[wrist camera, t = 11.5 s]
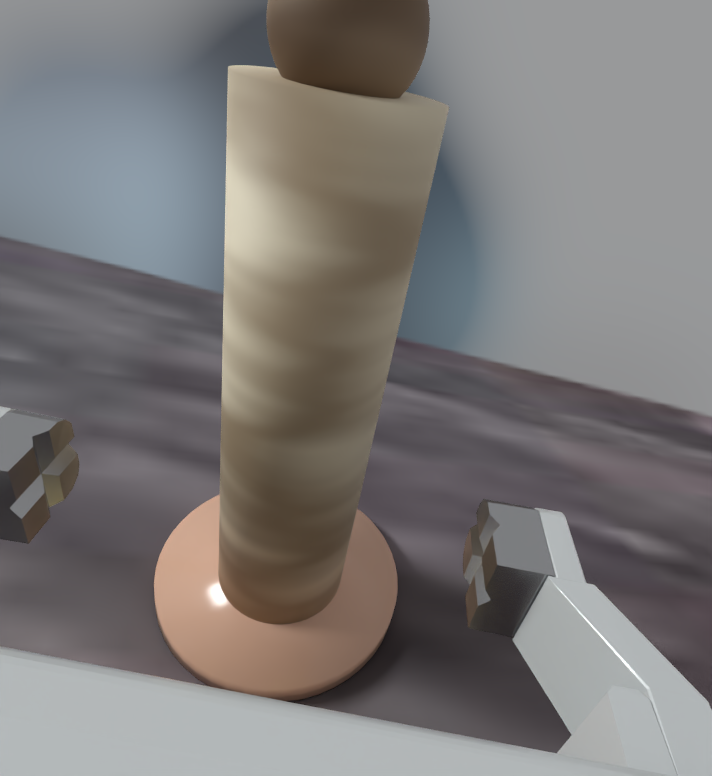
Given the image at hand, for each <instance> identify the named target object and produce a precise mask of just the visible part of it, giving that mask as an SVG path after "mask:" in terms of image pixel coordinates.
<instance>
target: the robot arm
mask: <svg viewBox="0 0 712 776" xmlns="http://www.w3.org/2000/svg"><path fill="white" fill-rule="evenodd" d="M73 438H74V433H73V429H72V424H71V423H70V422H68V421H66V420H65V419H60V418H55V417H51V416H46V415H41V414H37V413H32V412H27V411H22V410H18V409H10V408H6V407H1V406H0V539H2V540H8V541H14V542H20V543H26V544H29V543H30V541H31V540H32V539H33V538H34V536H35V535H36V534H37V533H38V532H39V530H40V529H41V528H42V527H43V525H44V524H45V523H46V522H47V520H48V519H49V518H50V510H49V507H50V506H52V505H55V504H57V503H59V502H61V501H63V500H64V499H65V498H66V497H67V495H68V494H69V493H70V492H71V490H72V489H73V486H74V484H75V481H76V479H77V477H78V471H79V459H78V454H77V453H76V452H75V451H74V449H73V448H72V447H71V446H70V445H69V444H68V443H69V442H70V441H71V440H72V439H73ZM476 514H477V523H478V524H477V525H475V526H474V527H472V528H470V530H469V533H468V536H467V539H466V542H465V548H464V553H463V573H464V577H465V579H466V580H467V581H468V582H469V584H470V586H469V589H468V591H467V593H466V596H465V599H466V610H467V622H468V628H471V629H475V630H480V631H484V632H489V633H493V634H498V635H503V636H507V637H512V638H513V642H514V643H515V645H516V647H517V648H518V650H519V651H520V653H521V655H522V656H523V658H524V659H525V661H526V663H527V664H528V666H529V667H530V669H531V671H532V672H533V674H534V675H535V677H536V678H537V680H538V682H539V683H540V685H541V686H542V688H543V690H544V691H545V693H546V694H547V696H548V698H549V699H550V701H551V702H552V704H553V706H554V707H555V709H556V710H557V712H558V714H559V715H560V717H561V718H562V720H563V722H564V723H565V725H566V726H567V728H568V730H569V731H570V733H571V734H572V735H571V737H570V738H569V739H568V740H567V742H566V743H565V744H564V745H563V746H562V748H561V749H560V750H559V751H558V753H557V754H556V753H551V752H546V751H541V750H535V749H530V748H525V747H520V746H515V745H509V744H504V743H499V742H494V741H489V740H484V739H478V738H473V737H468V736H463V735H458V734H452V733H447V732H442V731H437V730H432V729H426V728H421V727H416V726H411V725H406V724H400V723H395V722H390V721H385V720H380V719H374V718H369V717H364V716H359V715H354V714H349V713H343V712H338V711H333V710H328V709H323V708H317V707H312V706H307V705H302V704H297V703H291V702H286V701H281V700H276V699H271V698H266V697H260V696H255V695H250V694H245V693H240V692H235V691H229V690H224V689H219V688H214V687H209V686H204V685H198V684H193V683H188V682H183V681H178V680H173V679H168V678H162V677H157V676H152V675H147V674H142V673H137V672H131V671H126V670H121V669H116V668H111V667H105V666H100V665H95V664H90V663H85V662H80V661H74V660H69V659H64V658H59V657H54V656H48V655H43V654H38V653H33V652H28V651H23V650H17V649H12V648H7V647H2V646H0V776H712V710H711V708H710V705H709V703H708V701H707V700H706V699H705V698H704V697H703V696H702V695H701V694H700V693H699V692H698V691H697V690H696V689H695V688H694V687H693V686H692V685H691V684H690V683H689V682H688V681H687V680H686V679H685V678H684V677H683V675H682V674H681V673H680V672H679V671H678V670H677V669H676V668H675V667H674V666H673V665H672V664H671V663H670V662H669V661H668V660H667V659H666V658H665V657H664V656H663V655H662V654H661V653H660V652H659V651H658V650H657V649H656V648H655V647H654V646H653V645H652V644H651V643H650V642H649V640H648V639H647V638H646V637H645V636H644V635H643V634H642V633H641V632H640V631H639V630H638V629H637V628H636V627H635V626H634V625H633V624H632V623H631V622H630V621H629V620H628V619H627V618H626V617H625V616H624V615H623V614H622V613H621V612H620V611H619V610H618V609H617V608H616V607H615V606H614V604H613V603H612V602H611V601H610V600H609V599H608V598H607V597H606V596H605V595H604V594H603V593H602V592H601V591H600V590H599V589H598V588H597V587H596V586H595V585H592V584H588V583H586V580H585V577H584V574H583V571H582V568H581V564H580V561H579V558H578V555H577V552H576V549H575V546H574V542H573V539H572V536H571V533H570V530H569V527H568V524H567V521H566V517H565V516H564V515H563V514H562V512H557V511H551V510H545V509H540V508H532V507H526V506H521V505H515V504H510V503H504V502H499V501H493V500H488V499H483V501H482V502H481V503H480V505H479V508H478V510H477V512H476Z"/></svg>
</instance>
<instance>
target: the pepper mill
mask: <svg viewBox="0 0 712 776" xmlns="http://www.w3.org/2000/svg"><path fill="white" fill-rule="evenodd" d="M267 6H268V7H267V33H268V40H269V45H270V49H271V53H272V56H273V59H274V62H275V65H276V67H277V68H270V67H259V66H247V65H234V66H229V67H228V102H227V152H226V204H225V205H226V206H225V256H224V259H225V260H224V306H223V358H222V410H221V461H220V513H219V564H218V577H219V583H220V586H221V589H222V591H223V593H224V595H225V597H226V598H227V600H228V601H229V603H230V604H231V605H232V606H233V607H234V608H235V609H237V610H238V611H239V612H240V613H242V614H244V615H245V616H247V617H249V618H251V619H253V620H256V621H259V622H263V623H268V624H280V625H283V624H292V623H296V622H300V621H303V620H306V619H308V618H310V617H312V616H314V615H316V614H317V613H319V612H320V611H322V610H323V609H324V608H325V607H326V606H327V605H328V604H329V603H330V602H331V601H332V599H333V598H334V596H335V594H336V593H337V590H338V588H339V585H340V581H341V577H342V572H343V568H344V563H345V559H346V555H347V550H348V546H349V542H350V537H351V533H352V529H353V524H354V520H355V516H356V511H357V507H358V502H359V498H360V494H361V489H362V485H363V481H364V476H365V472H366V468H367V463H368V459H369V455H370V450H371V446H372V441H373V437H374V433H375V428H376V424H377V420H378V415H379V411H380V407H381V402H382V398H383V394H384V389H385V385H386V380H387V376H388V372H389V367H390V363H391V359H392V354H393V350H394V346H395V341H396V337H397V332H398V328H399V324H400V319H401V315H402V310H403V306H404V302H405V297H406V293H407V289H408V285H409V280H410V276H411V272H412V267H413V263H414V258H415V254H416V250H417V245H418V241H419V236H420V232H421V227H422V224H423V219H424V215H425V211H426V206H427V202H428V197H429V193H430V189H431V184H432V180H433V176H434V171H435V167H436V162H437V158H438V154H439V149H440V145H441V141H442V136H443V132H444V128H445V123H446V119H447V115H448V110H449V106H447V105H446V104H444V103H441V102H439V101H436V100H433V99H430V98H426V97H423V96H420V95H415V94H412V93H408V92H405V91H406V90H407V89H408V88H409V86H410V85H411V83H412V82H413V80H414V79H415V77H416V75H417V73H418V71H419V69H420V66H421V64H422V61H423V59H424V55H425V52H426V48H427V43H428V36H429V21H430V18H429V5H428V0H268V5H267Z"/></svg>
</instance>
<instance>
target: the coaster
mask: <svg viewBox="0 0 712 776" xmlns="http://www.w3.org/2000/svg"><path fill="white" fill-rule="evenodd" d="M219 513H220V495H218V496H216V497H214V498H212V499H210V500H208V501H207V502H205V503H203V504H202V505H200V506H199V507H198V508H196V509H195V510H193V511H192V512H191V513H190V514H189V515H188V516H187V517H185V518H184V519H183V520H182V521H181V522H180V524H179V525H178V526H177V527H176V528H175V530H174V531H173V532H172V534H171V535H170V537H169V538H168V540H167V541H166V543H165V545H164V547H163V549H162V552H161V554H160V556H159V560H158V563H157V567H156V571H155V580H154V594H155V607H156V614H157V619H158V624H159V627H160V630H161V633H162V635H163V638H164V640H165V642H166V644H167V645H168V647H169V649H170V651H171V652H172V654H173V655H174V656H175V658H176V659H177V660H178V661H179V662H180V664H181V665H182V666H183V667H184V668H185V669H186V670H188V671H189V672H190V673H191V674H192V675H193V676H194V677H196V678H197V679H199V680H200V681H202V682H203V683H205V684H206V685H208V686H210V687H214V688H219V689H224V690H229V691H235V692H240V693H245V694H250V695H255V696H260V697H266V698H271V699H276V700H281V701H293V700H301V699H304V698H308V697H311V696H315V695H318V694H321V693H323V692H325V691H328V690H330V689H332V688H334V687H336V686H338V685H339V684H341V683H343V682H344V681H346V680H347V679H349V678H350V677H352V676H353V675H354V674H355V673H356V672H358V671H359V670H360V669H361V668H362V667H363V666H364V665H365V664H366V663H367V662H368V661H369V660H370V659H371V657H372V656H373V655H374V654H375V652H376V651H377V649H378V648H379V646H380V645H381V643H382V641H383V639H384V637H385V634H386V632H387V630H388V627H389V624H390V621H391V618H392V615H393V611H394V608H395V605H396V598H397V591H398V584H397V572H396V566H395V562H394V559H393V556H392V552H391V550H390V548H389V546H388V544H387V542H386V540H385V538H384V537H383V535H382V534H381V532H380V531H379V529H378V528H377V527H376V526H375V525H374V523H373V522H372V521H371V520H370V519H369V518H368V517H367V516H366V515H365V514H364V513H362V512H361V511H360V510H359V509H357V511H356V516H355V520H354V524H353V529H352V533H351V537H350V542H349V546H348V550H347V555H346V559H345V563H344V568H343V572H342V577H341V581H340V585H339V588H338V590H337V593H336V594H335V596H334V598H333V599H332V601H331V602H330V603H329V604H328V605H327V606H326V607H325V608H324V609H323V610H322V611H320V612H319V613H317V614H316V615H314V616H312V617H310V618H308V619H306V620H303V621H300V622H296V623H292V624H283V625H280V624H268V623H263V622H259V621H256V620H253V619H251V618H249V617H247V616H245V615H244V614H242V613H240V612H239V611H238V610H237V609H235V608H234V607H233V606H232V605H231V604H230V603H229V601H228V600H227V598H226V597H225V595H224V593H223V591H222V589H221V586H220V583H219V577H218V564H219Z"/></svg>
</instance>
